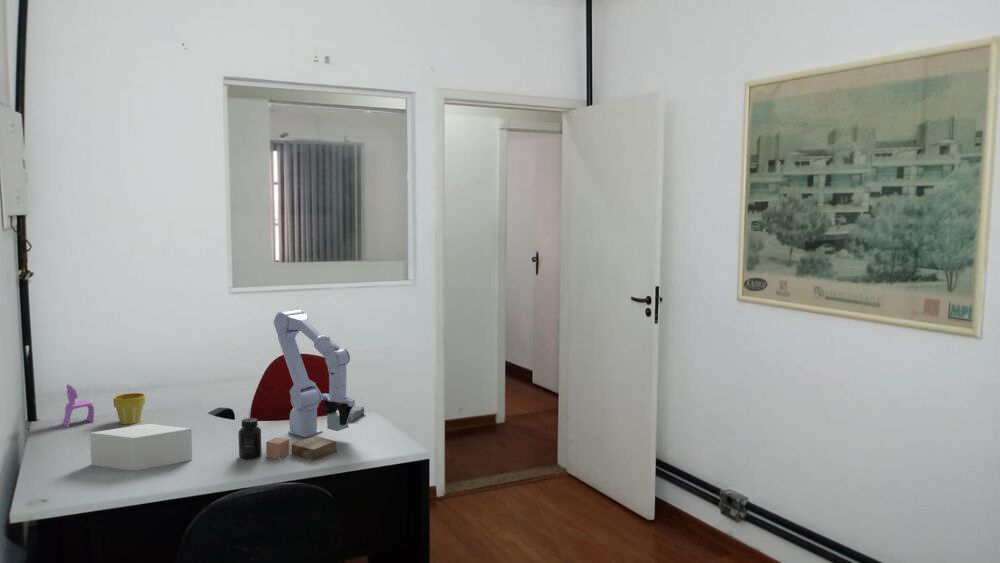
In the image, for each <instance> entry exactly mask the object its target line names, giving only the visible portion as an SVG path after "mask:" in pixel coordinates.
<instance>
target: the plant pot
mask: <svg viewBox="0 0 1000 563" xmlns="http://www.w3.org/2000/svg"><path fill="white" fill-rule="evenodd" d="M112 400H113V402H112V403H113V407H114V408H115V409H116V412H117V416H118V417H117V418H118V419H119V423H120V424H122V425H133V424H137V423H139V422H141V420H142V415H143V409H144V405H145V404H146V394H145V393H143V392H128V393H122V394H118V395H115V396H114V397H113V398H112Z"/></svg>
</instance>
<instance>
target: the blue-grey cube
mask: <svg viewBox="0 0 1000 563" xmlns="http://www.w3.org/2000/svg"><path fill="white" fill-rule="evenodd" d="M336 411H337V410H336ZM326 416H327V419H326V420H327V421H326V424H327V427H326V428H327V429H328V430H331V431H335V432H338V431H339V432H340V431H342V430H346V429H348V428H349V422H348V419H347V423H346V425H341V424H340V415H339V411H337V412H334V413H330V414H327V413H326Z"/></svg>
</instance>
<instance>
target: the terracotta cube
mask: <svg viewBox="0 0 1000 563" xmlns="http://www.w3.org/2000/svg"><path fill="white" fill-rule="evenodd" d="M265 445H266V446H265V447H266V450H265V452H266V454H265V455H266V457H267V458H271V457H272V459H279V458H280V459H282V458H284V457H286V456H288V455H290V439H289V438H285V437H278V436H276V437H273V438H272V439H269V440H267V441H266V443H265ZM280 459H279V460H280Z"/></svg>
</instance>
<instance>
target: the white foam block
mask: <svg viewBox="0 0 1000 563" xmlns="http://www.w3.org/2000/svg"><path fill="white" fill-rule="evenodd" d="M89 436H90V437H89V439H90V459H91V460H90V465H91V466H98V467H105V468H114V469H120V470H126V471H133V472H136V471H141V470H145V469H150V468H156V467H157V468H158V467H162V466H166V465H173V464H178V463H183V462H188V461H192V460H193V443H192V442H193V441H192V428H189V427H188V428H187V427H179V426H170V425H162V424H154V423H145V424H138V425H132V426H126V427H119V428H113V429H105V430H98V431H93V432H92V431H91V432H90V433H89Z"/></svg>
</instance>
